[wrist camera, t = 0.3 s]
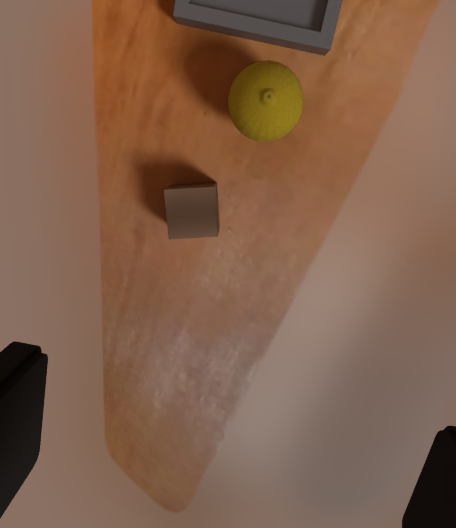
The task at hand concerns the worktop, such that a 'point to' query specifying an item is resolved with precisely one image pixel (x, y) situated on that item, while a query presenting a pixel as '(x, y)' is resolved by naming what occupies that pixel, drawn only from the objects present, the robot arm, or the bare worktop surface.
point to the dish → (266, 20)
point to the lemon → (265, 101)
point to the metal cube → (192, 210)
